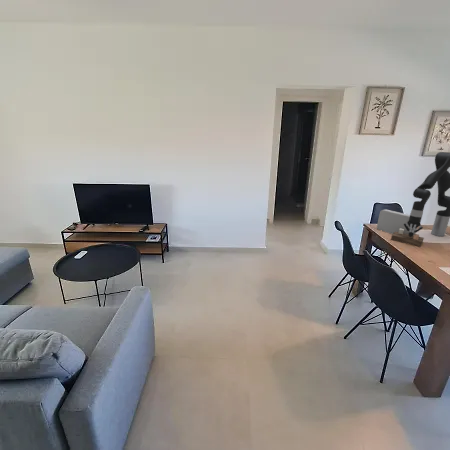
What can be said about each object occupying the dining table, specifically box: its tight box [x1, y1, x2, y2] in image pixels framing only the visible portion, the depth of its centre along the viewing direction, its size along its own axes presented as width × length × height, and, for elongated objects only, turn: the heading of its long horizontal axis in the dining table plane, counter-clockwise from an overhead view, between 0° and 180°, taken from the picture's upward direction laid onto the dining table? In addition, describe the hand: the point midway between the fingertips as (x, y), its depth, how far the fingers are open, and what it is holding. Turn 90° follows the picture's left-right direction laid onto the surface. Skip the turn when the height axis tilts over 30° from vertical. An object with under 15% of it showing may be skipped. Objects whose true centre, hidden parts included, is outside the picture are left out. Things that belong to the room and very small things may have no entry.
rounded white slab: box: [376, 209, 418, 235], centre depth 235 cm, size 29×8×18 cm, turn 36°
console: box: [390, 231, 425, 248], centre depth 220 cm, size 12×20×4 cm, turn 49°
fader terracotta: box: [413, 233, 420, 240], centre depth 213 cm, size 3×3×4 cm
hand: (410, 236), depth 216 cm, fingers closed
